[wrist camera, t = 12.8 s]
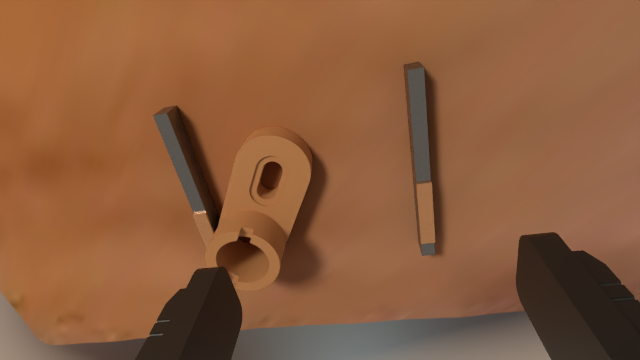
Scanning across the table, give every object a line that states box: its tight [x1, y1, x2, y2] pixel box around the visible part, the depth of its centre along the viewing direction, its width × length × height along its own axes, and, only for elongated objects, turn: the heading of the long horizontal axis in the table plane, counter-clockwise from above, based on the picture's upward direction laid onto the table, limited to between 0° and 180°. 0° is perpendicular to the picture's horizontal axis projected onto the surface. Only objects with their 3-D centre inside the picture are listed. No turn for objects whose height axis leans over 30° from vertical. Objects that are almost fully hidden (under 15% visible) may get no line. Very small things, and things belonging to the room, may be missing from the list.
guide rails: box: [153, 62, 435, 256], centre depth 42 cm, size 22×27×3 cm
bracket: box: [205, 127, 313, 290], centre depth 41 cm, size 18×8×7 cm, turn 161°
